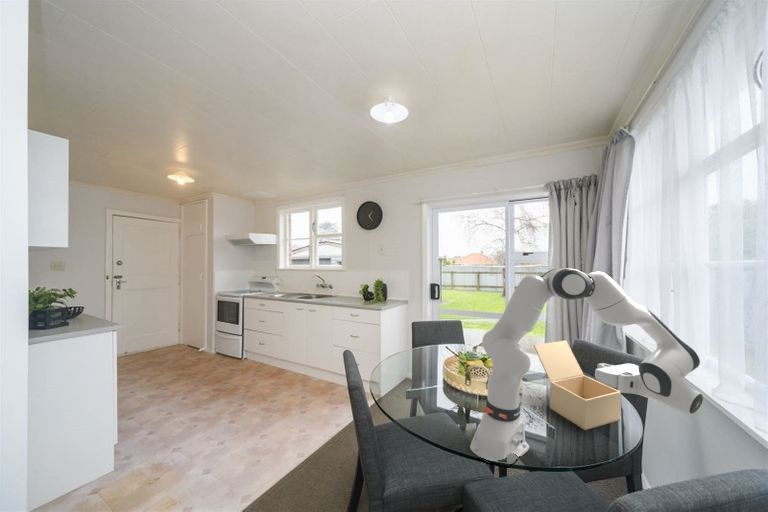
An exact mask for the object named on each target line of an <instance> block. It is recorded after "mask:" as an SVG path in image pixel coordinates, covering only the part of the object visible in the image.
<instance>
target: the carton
mask: <svg viewBox="0 0 768 512" xmlns="http://www.w3.org/2000/svg"><path fill="white" fill-rule="evenodd" d="M549 389H550V391H549V392H550V394H549V409H550V410H552V411H554V412H555V413H556V414H558V415H560V416H562V417H563V418H565V419H566V420H567V421H569V422H571V423H573V424H574V425H575V426H577V427H579V428H580V429H582V430H583V431H587V430H591V429H594V428H597V427H601V426H604V425H608V424H611V423H614V422H615V423H616V422H618V421H621V407H622V406H621V403H622V402H621V401H622V392H620V391H618V389H617V388H614V387H611V386H609V385H607V384H605V383H603V382H601V381H599V380H597V379H596V380H595V379H594V378H591V377H589V376H587V375H584V374H583V375H578V376H573V377H569V378H564V379H559V380H554V381H550V387H549Z"/></svg>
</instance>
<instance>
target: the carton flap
mask: <svg viewBox="0 0 768 512" xmlns="http://www.w3.org/2000/svg"><path fill="white" fill-rule="evenodd" d="M533 348H534V350H535V352H536V354H537V357H538V358H539V361H540V363H541V365H542V368H543V369H544V372H545V374H546V376H547V378H548V379H547V380H548V381H549V382H552V381H557V380H562V379H567V378H571V377H576V376H581V375H584V372H583V369H581V367H580V364H579V362H578V360H577V358H576V357H575V355H574V353H573V350H572V349H571V347H570V345H569V343H568V341H567V340H559V341H552V342H546V343H545V342H544V343H539V344H534V345H533Z"/></svg>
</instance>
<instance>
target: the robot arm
mask: <svg viewBox="0 0 768 512" xmlns="http://www.w3.org/2000/svg"><path fill="white" fill-rule="evenodd" d="M552 297H555V298H557V299H561V300H568V301H575V300H579V299H584V301H586V302H587V304H588V306H589V307H590V308H591V309H592V311H593V312H594V313H595V315H596V316H597V318H599V320H601V321H602V322H603V323H604V324H607V325H609V326H614V327H624V326H631V325H637V326H638V327H640V328H641V329H642V330H644V332H645V333H646V334H647V335H648V336H649V337H650V338H651V339H652V340H653V341H654V342H655V344H656V349H655V350H654V351H653V352H651V354H650V355H648V356H647V357H645V359H643V360H642V361H641V363H639V365H637V364H634V363H623V364H618V365H617V364H616V365H614V364H608V363H604V362H602V363H601V362H600V363H597V365H596V366H597V368H595V371H594V377H595V379H596V381H598V382H600V383H602V384H605V385H607V386H609V387H611V388H614V389H617V390H618V391H620V392H621V394H622V393H623V394H634V395H639V396H642V397H645V398H647V399H652V400H654V401H655V402H657V403H658V404H660V405H663V406H664V407H667V408H669V409H672V410H674V411H678V412H681V413H683V414H689V415H692V414H694V413H696V412H697V411H698V410H699V408H701V406H702V404H703V399H704V396H703V394H702V393H701V392H700V391H698V390H696V389H694V388H692V387H691V386H690V385H689V384H688V383H687V381H686V380H685V379H684V378H686V376H687V375H688V374H690V373H692V372H693V371H694V370H696V369H697V368H699V366H700V363H701V361H700V357H699V355H698V354H697V352H696V351H695V350H694V349H693V348H692V347H691V346H690V345H688V344H687V343H685V342H684V341H683V340H682V339H680V338H679V337H678V336H677V335H676V334H675V333H674V332H673V331H672V330H671V329H670V328H669V327H668V326H667V325H665V323H664V322H663V321H662V320H661V319H660V318H659V317H658V316H657V315H656V314H654V312H653V311H652V310H650V309H649V308H647V307H646V306H645V305H643V304H641V303H636V302H635V301H633V300H632V299H631V298H630V297H629V296H628V295H627V294H626V292H625V291H624V290H623V288H621V286H620V285H619V283H617V282H616V281H615V280H614V279H613V278H612V277H611V276H609V275H608V274H607V273H605V272H602V271H593V272H590V273H585V272H583V271H581V270H579V269H575V268H570V267H569V268H568V267H557V268H553V269H550V270H548V271H547V272H546V273H544V274H543V275H534V274H531V275H525V276H524V277H523V278H522V279H521V281H520V282H519V283H518V285H517V286H516V287H515V289H514V291H513V293H512V295H511V297H510V299H509V301H508V304H507V305H506V308H505V309H504V312H503V313H502V315H501V317H500V319H498V321H497V322H496V324H495V325H494V326H493V328H492V329H491V330H489V331H487V332H486V333H485V334H483V337H482V343H481V344H482V347H483V350H484V351H485V353H486V355H487V356H488V357H489V358H490V359H491V362H492V370H491V375H489V376H488V379H487V396H486V400H485V404H484V405H485V406H483V408H482V412H483V413H482V416H481V420H480V422H479V424H478V425H477V427H476V430H475V432H474V435H473V438H472V440H471V443H470V445H469V449H470V450H471V452H472V453H473V454H475V455H476V456H478V457H479V458H480V457H481V459H482V458H484V459H486V460H490V461H497V460H502V459H505V458H506V457H507V455H509V454H510V453H514V454H516V455H517V456H518V457H519V456H521V457H523V455H525V454H526V453H527V452H528V451H529V450H530V445H529V443H527V442H526V435H525V434H526V433H525V431H526V430H525V423H524V421H523V420H522V417H521V411H522V410H521V409H522V408H521V403H520V391H521V390H520V387H521V382H522V378H523V376H524V375H526V374H527V373H528V371H530V369H531V368H530V367H531V357H530V356H529V355H528V353H527V352H526V350H525V349H524V347H523V346H522V345H520V344H519V342H520V341H521V340H522V338H524V336H525V335H526V334H528V333H531V332H532V331H533V330H534V328H535V326H536V325H537V322H538V321H539V318H540V316H541V314H542V312H543V309H544V307H545V304H546V303H547V302H548V301H549V300H550V298H552ZM484 459H483V460H484ZM486 460H485V461H486Z"/></svg>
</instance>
